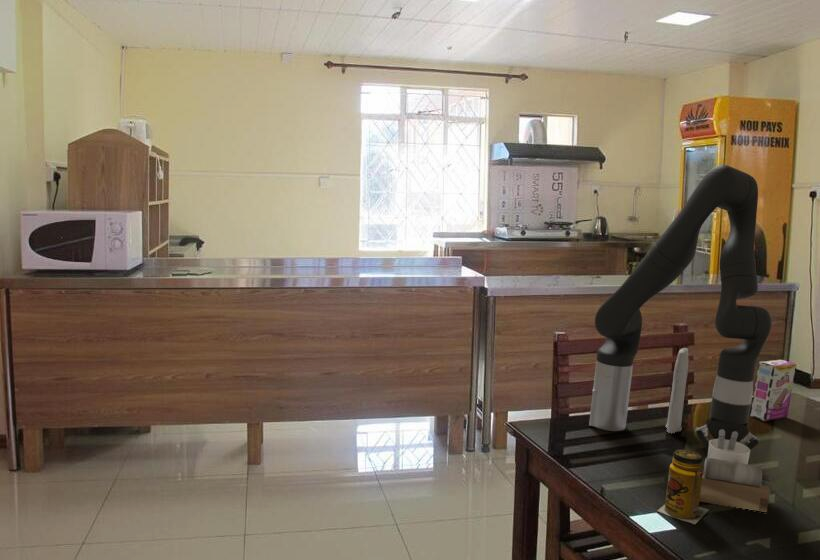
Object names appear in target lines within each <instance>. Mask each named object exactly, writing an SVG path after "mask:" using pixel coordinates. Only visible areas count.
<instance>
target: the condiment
mask: <svg viewBox="0 0 820 560" xmlns="http://www.w3.org/2000/svg"><path fill="white" fill-rule="evenodd" d="M671 460H672V462H671V463H670V465H669V469H668V477H667V484H666V485H667V486H666V493H665V494H666V495H665V499H664V500H665V501H664V504H663V505H662V506H661V507H659V508H658V509H657V510H656V512H659V513H660V514H664V515H666V516H669V517H671V518H674V519H678V520H680V521H683V522H687V523H690V524H692V525H696V524H697V523H698V522H699V521H700V520H701V519H702V518H703V517H704V516H705V515H706V514H707V512H708V511H709V509H708V508H705V507H701V506H700V501H699V499H700V491H701V484H702V477H703V475H704V470H703V469H702V467H703V466H702V465H703V461H704V459H703V456H702V455H701V454H699V453H697V452H695V451H692V450H688V449H687V450H686V449H677V450H675V451H674V452H673V454H672V459H671Z"/></svg>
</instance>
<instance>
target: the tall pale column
mask: <svg viewBox="0 0 820 560" xmlns="http://www.w3.org/2000/svg"><path fill="white" fill-rule="evenodd" d="M688 371H689V348H687V347H683V348H680V349H679V351H678V353H677V356H676V360H675V364H674V370H673V378H672V386H671V394H670V400H669V407H668V412H667V413H668V414H667V422H666V424H665V427H666V428H667V429H666V433H667V432H668V433H667V434H669V433H671V434H670V435H673V434H672V433H674V434H676V433H678V432H681V430H682V429H683V427H682V418H683V411H684V401H685V393H686V388H687V387H686V386H687V379H688V373H689V372H688ZM682 431H683V430H682ZM675 432H676V433H675Z"/></svg>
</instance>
